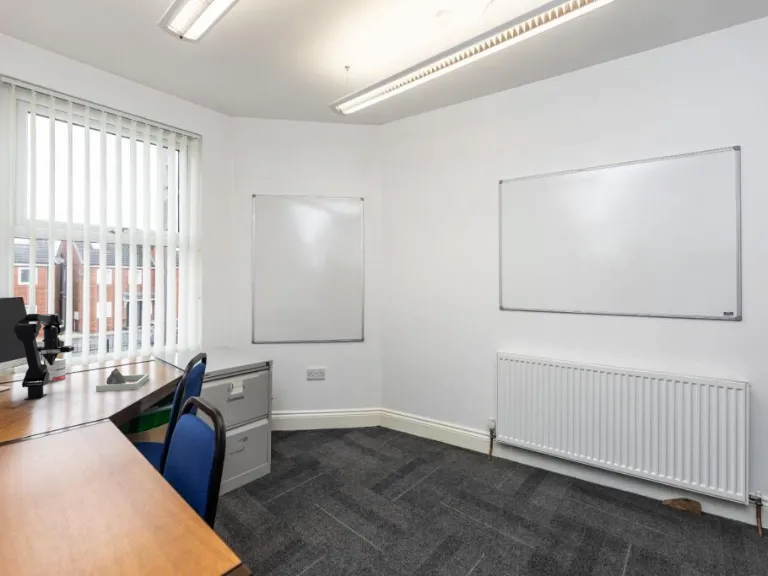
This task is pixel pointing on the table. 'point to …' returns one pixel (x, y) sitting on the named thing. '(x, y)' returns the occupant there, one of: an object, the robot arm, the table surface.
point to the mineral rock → (115, 378)
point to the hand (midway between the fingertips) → (51, 365)
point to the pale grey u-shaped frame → (140, 377)
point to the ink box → (57, 369)
